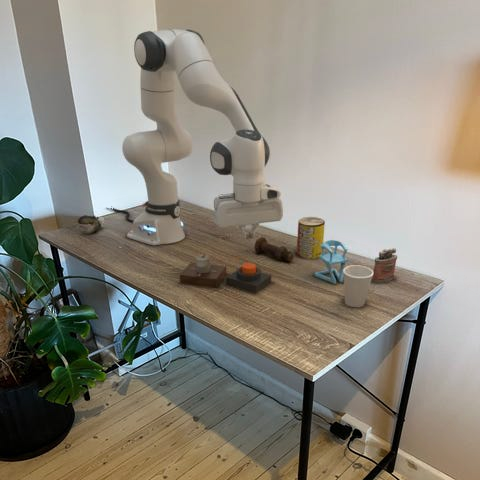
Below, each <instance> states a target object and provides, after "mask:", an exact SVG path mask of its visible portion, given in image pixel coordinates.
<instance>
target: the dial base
mask: <svg viewBox="0 0 480 480" xmlns="http://www.w3.org/2000/svg"><path fill="white" fill-rule="evenodd" d="M226 277H227V266H225V265H219V264H210V271H209V272H207V273H199V272H197V271H196V262H190V263H189V264H188V265H187V266H186V267H185V269H184V270H183V271H182V272H181V273H180V274H179V283H180V284H184V285H191V286H200V287H206V288H207V287H208V288H216V289H217V288H218V286H219V285H221V282H222V281H223V280H224V278H226Z"/></svg>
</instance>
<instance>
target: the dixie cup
mask: <svg viewBox="0 0 480 480" xmlns="http://www.w3.org/2000/svg"><path fill="white" fill-rule="evenodd" d="M343 273H344V274H343V291H344V293H343V294H344V304H345V305H346V306H348V307H351V308H361V307H363V306H365V303H366V300H367V296H368V293H369V290H370V285H371V283H372V278H373V274H374V270H373V269H372V268H370V267H368V266H364V265H359V264H353V265H348V266H345V268H344V269H343Z"/></svg>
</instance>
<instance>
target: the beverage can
mask: <svg viewBox="0 0 480 480" xmlns="http://www.w3.org/2000/svg"><path fill="white" fill-rule="evenodd" d="M325 224H326V220H325V219H323V218H321V217H317V216H304V217H301V218H299V219H298V223H297V238H296V256H298V257H299V258H302V259H306V260H315V259H320V258H319V255H321V254H322V249H321V245H322V244H323V243H324V237H325V236H324V235H325V226H326V225H325Z"/></svg>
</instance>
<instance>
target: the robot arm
mask: <svg viewBox="0 0 480 480" xmlns="http://www.w3.org/2000/svg"><path fill="white" fill-rule="evenodd" d="M133 46H134V47H133V51H134V57H135V60H136V63H137V64H138V66H139V67H140V74H139V75H140V76H139V78H140V79H139V80H140V82H139V83H140V86H139V87H140V109H141V112H142V114H143V115H144V117H146V118H147V119H149V120H151V121H152V122H154V123H156V129H153V130H146V131H138V132H135V133H132V134H129V135H126V136H125V138H124V139H123V142H122V147H121V149H122V155H123V157H124V159H125V160H126V161H127V162H128V164H130V165H132V166H133V167H135V168H136V169H137V170H138V171H139V172H140V174H141V176H142V178H143V180H144V183H145V188H146V193H147V194H146V195H147V201H145V202H144V203H142V204H141V205H142V207H143V208H144V207H145V208H144V211H143V212H142V213H141V214H139V215H138V216H137V217H136V218H134V220H133V219H131V218H129V217H130V212H129V211H128V210H122V209H116V208H115V207H113V209H112V208H110V209H111V210H113V211H114V212H118V213H123V214H126V215H125V219H126V220H127V221H128V222H130V223H132V229H131V230H129V232H127V235H126V237H127V238H128V239H130V240H134V241H137V242H140V243H143V244H147V245H149V246H159V245H166V244H167V245H169V244H174V243H178V242H180V241H183V240H184V239H185V238H186V234H185V231H184V228H183V227H184V223H183V222H182V219H181V203H180V200H179V191H178V190H179V189H178V182H177V179H176V178H175V176H174V175H172V174H171V173H169V172H166V171H164V170H163V167H162V164H164V163H171V162H178V161H180V160H183V159H186V158H188V157H190V156H191V154H192V152H193V148H194V140H193V137H192V135H191V134H190V133H189V131H188V130H187V129H185V128H184V127H183V126H182V125H181V123H180V121H179V119H178V116H177V112H176V98H175V96H176V95H175V93H176V91H175V89H176V88H175V87H176V85H175V84H176V83H175V73H176V76H177V79H178V82H179V84H180V86H181V87H180V88H181V89H182V91H183V94H184V96H186V98H187V99H188V100H189V101H190V102H191V103H193V104H195V105H197V106H199V107H204V108H209V109H212V110H215V111H218V112H219V113H221V114H223V115H224V116H225V117H226V118H227V119H228V120H229V122H230V124H231V126H232V127H233V129H234V131H235V132H234V134H233V135H232V136H230V137H228V138H226V139H221V140H219V141H216V142H214V143H213V145H212V147H211V148H210V152H209V161H210V165H211V167H212V169H213V171H215V172H216V174H218V175H220V176H232V177H233V178H232V192H233V193H225V194H218V196H216V197H214V199H213V209H214V216H213V217H214V218H213V221H214V224H215V225H216V226H217V227H218V228H219V229H225V228H233V227H238V228H239V230H240V231H241V233H242V239H243V240H247V239H248V240H249V239H255V238H256V233H257V231H258V229H259V227H260V225H259V224H266V223H273V222H281V220H282V219H283V217H284V206H283V201H282V199H281V198H280V197H281V194H282V192H281V190H280V189H279V188H277V187H275V186H274V185H271V184H267V183H265V176H264V170H265V167H266V166H267V164H268V163H269V161H270V160H269V159H270V157H271V150H270V146H269V144H268V142H267V140H266V139H265V138H264V136H263V135H262V134H261V133H260V132H259V129H258V128H257V127H256V125H255V123H254V121H253V119H252V118H251V116H250V114H249V112H248V110H247V108H246V106H245V105H244V103H243V100H241V98H240V96H239V94H238V93H237V92H236V89H234V88H233V87H232V86H231V85H229V84H228V83H227V82H226V81H225V80H224V79H223V77H222V76H221V74H220V73H219V71H218V69H217V68H216V66H215V63H214V61H213V57H212V56H211V53H210V52H209V50H208V48H207V46H206V43H205V41H204V39H203V37H202V35H201V34H200V32H199V31H195V30H192V29H177V28H168V29H161V30H154V31H152V30H147V31H143V32H141V33H139V34H138V35H137V36H136V39H135V40H134V45H133ZM249 225H251V226H252V228H251V229H250V230H248V231H246V230H245V229H247V227H246V226H249Z"/></svg>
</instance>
